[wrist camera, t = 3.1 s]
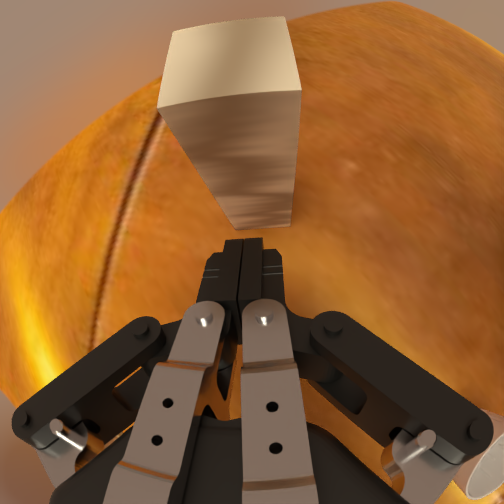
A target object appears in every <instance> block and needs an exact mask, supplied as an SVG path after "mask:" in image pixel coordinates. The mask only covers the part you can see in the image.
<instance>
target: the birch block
mask: <svg viewBox="0 0 504 504" xmlns="http://www.w3.org/2000/svg"><path fill="white" fill-rule="evenodd" d="M301 92H302V89H301V85H300V80H299V75H298V70H297V66H296V61H295V57H294V52H293V48H292V44H291V40H290V36H289V32H288V28H287V24H286V20H285V17H263V18H251V19H242V20H233V21H226V22H219V23H213V24H207V25H202V26H197V27H192V28H187V29H182V30H178V31H174V32H173V35H172V39H171V43H170V47H169V51H168V55H167V59H166V64H165V68H164V73H163V78H162V83H161V88H160V93H159V98H158V104H157V109H158V111H159V112H160V114H161V116H162V117H163V119H164V120H165V122H166V123H167V125H168V126H169V128H170V129H171V131H172V133H173V134H174V136H175V137H176V139H177V140H178V142H179V143H180V145H181V147H182V148H183V150H184V151H185V153H186V154H187V156H188V157H189V159H190V160H191V162H192V164H193V165H194V167H195V168H196V170H197V171H198V173H199V174H200V176H201V178H202V179H203V181H204V182H205V184H206V185H207V187H208V188H209V190H210V191H211V193H212V195H213V196H214V198H215V199H216V201H217V202H218V204H219V205H220V207H221V208H222V210H223V212H224V213H225V215H226V216H227V218H228V219H229V221H230V222H231V224H232V225H233V227H234V229H235V230H244V229H259V228H274V227H290V223H291V214H292V204H293V194H294V183H295V172H296V161H297V149H298V136H299V122H300V108H301Z"/></svg>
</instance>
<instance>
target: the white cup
mask: <svg viewBox="0 0 504 504" xmlns="http://www.w3.org/2000/svg"><path fill="white" fill-rule="evenodd" d="M479 409H481V410H482V411H484V412H485V413H486V414H487V415H488V416H489V417H490V419H491V420H492V423H493V427H494V434H493V439H492V442H491V443H490V445H489V447H488V448H487V449H486V450H485V451H484V452H482V453H481V454H479V455H477V456H476V457H474V458H472V459H470V460H469V461H467V462H465V463H464V464H463V465H462V466H461V467H460V469H459V470H458V472H457V473H456V475H455V476H454V478H453V479H452V480H453V481H454V482H455V483H456V484H457V486H458V487H459V488H460V489H461V490H462V491H463V493H464V494H465V495H466V496H467V497H468V498H469V499H471V500H477V499H480V498H483V497H485V496H487V495H489V494H490V493H492V492H493V491H495V490H496V489H497V488H498V487H500V486H501V485H502V484H503V483H504V416H501V415H498V414H496V413H493V412H490V411H487V410H484V409H482V408H479Z"/></svg>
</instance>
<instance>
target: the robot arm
mask: <svg viewBox="0 0 504 504" xmlns="http://www.w3.org/2000/svg"><path fill="white" fill-rule="evenodd" d="M240 344H243V367H241V417H242V418H238V419H233V420H230V413H229V404H230V398H231V392H232V387H233V381H234V376H235V370H236V364H237V359H236V353H237V345H240ZM140 366H141V367H142V368H141V369H140V370H138V371H137V372H136V373H134V374H133V375H132V376H131V377H129V378H128V379H127V380H126V381H124V382H123V383H122V384H121V385H119V386H118V387H115V386H116V385H117V384H118V383H120V382H121V381H122V380H124V379H125V378H126V377H127V376H129V375H130V374H131V373H132V372H134V371H135V370H136V369H137V368H139V367H140ZM299 378H304V379H307V380H308V382H309V384H310V385H311V386H312V387H314V388H315V389H316V390H317V391H318V392H319V393H320V394H321V395H323V396H324V397H325V398H326V399H327V400H328V401H329V402H330V403H332V404H333V405H334V406H335V407H336V408H337V409H338V410H340V411H341V412H342V413H343V414H344V415H345V416H347V417H348V418H349V419H350V420H351V421H352V422H354V423H355V424H356V425H357V426H358V427H360V428H361V429H362V430H363V431H364V432H366V433H367V434H368V435H369V436H370V437H372V438H373V439H374V440H375V441H377V442H378V443H379V444H380V445H382V446H383V447H384V450H383V452H382V455H381V464H382V467H383V469H384V471H385V472H386V473H387V474H388V475H389V477H390V478H391V481H392V488H391V487H390V486H389V485H387V484H386V483H385V482H384V481H383V480H382V479H380V478H379V477H378V476H377V475H376V474H375V473H374V472H372V471H371V470H370V469H369V468H368V467H367V466H366V465H365V464H364V463H362V462H361V461H360V460H359V459H358V458H357V457H356V456H355V455H354V454H353V453H352V452H350V451H349V450H348V449H347V448H346V447H345V446H344V445H343V444H342V443H341V442H340V441H339V440H338V439H337V438H336V437H335V436H333V435H332V434H331V433H329V432H328V431H327V430H325V429H323V428H321V427H319V426H317V425H314V424H312V423H308V422H306V419H305V412H304V406H303V399H302V393H301V386H300V380H299ZM114 387H115V388H114ZM133 422H135V423H134V425H133V426H132V427H130V428H129V429H128V430H127V431H126V432H124V433H123V434H122V435H121V436H120V437H118V438H117V439H116V440H115V441H114V442H113V443H111V444H110V445H109V446H108V447H107V448H105V449H104V445H105V444H107V443H108V442H109V441H111V440H112V439H113V438H114V437H116V436H117V435H118V434H120V433H121V432H122V431H123V430H125V429H126V428H127V427H128V426H130V425H131V424H132V423H133ZM12 429H13V432H14V433H15V435H16V436H17V437H19V438H20V439H22V440H23V441H25V442H26V443H28V444H30V445H31V446H32V447H33V448H34V449H35V450H36V451H37V454H38V456H39V458H40V460H41V462H42V464H43V466H44V468H45V470H46V472H47V474H48V476H49V478H50V480H51V482H52V484H53V485H54V487H55V490H54V492H53V493H52V495H51V498H50V502H49V504H434V503H435V502H436V500H437V499H438V498H439V497H440V495H441V494H442V493H443V491H444V490H445V489H446V487H447V486H448V485H449V483H450V482H451V481H452V479H453V478H454V476H455V475H456V473H457V472H458V470H459V469H460V467H461V466H462V465H463V464H464V463H465V462H467V461H469V460H470V459H472V458H474V457H476V456H477V455H479V454H481V453H482V452H484V451H485V450H486V449H487V448H488V447H489V445H490V443H491V442H492V439H493V434H494V427H493V423H492V420H491V419H490V417H489V416H488V415H487V414H486V413H485V412H484V411H482V410H481V409H479V408H478V407H477V406H475V405H474V404H472V403H471V402H469V401H468V400H467V399H465V398H464V397H462V396H461V395H460V394H458V393H457V392H455V391H454V390H453V389H451V388H450V387H448V386H447V385H445V384H444V383H443V382H441V381H440V380H438V379H437V378H436V377H434V376H433V375H431V374H430V373H429V372H427V371H426V370H424V369H423V368H421V367H420V366H419V365H417V364H416V363H414V362H413V361H412V360H410V359H409V358H407V357H406V356H404V355H403V354H402V353H400V352H399V351H397V350H396V349H394V348H393V347H392V346H390V345H389V344H387V343H386V342H385V341H383V340H382V339H380V338H379V337H377V336H376V335H375V334H373V333H372V332H370V331H369V330H367V329H366V328H365V327H363V326H362V325H360V324H359V323H358V322H356V321H355V320H353V319H352V318H350V317H349V316H347V315H346V314H344V313H341V312H337V311H327V312H323V313H321V314H319V315H317V316H316V317H315V318H314V319H309V318H304V317H300V316H298V315H296V314H294V313H292V312H291V311H290V310H289V309H288V308H287V306H286V304H285V295H284V281H283V267H282V256H281V255H280V253H279V252H278V251H277V250H276V249H265V250H264V247H263V238H246V239H232V240H226V241H225V245H224V249H223V252H218V253H213V254H212V255H211V257H210V258H209V259H208V260H207V262H206V266H205V271H204V273H203V278H202V281H201V285H200V289H199V293H198V296H197V300H196V304H194V305H192V306H191V307H189V308H188V309H187V311H186V312H185V314H184V316H183V319H181V320H179V321H175V322H172V323H168V324H164V325H160V323H159V321H158V320H157V319H155V318H153V317H149V316H144V317H139V318H137V319H135V320H133V321H131V322H130V323H129V324H127V325H126V326H125V327H123V328H122V329H121V330H119V331H118V332H117V333H115V334H114V335H112V336H111V337H110V338H108V339H107V340H106V341H104V342H103V343H102V344H100V345H99V346H98V347H96V348H95V349H94V350H92V351H91V352H90V353H88V354H87V355H86V356H84V357H83V358H82V359H80V360H79V361H78V362H76V363H75V364H74V365H72V366H71V367H70V368H68V369H67V370H66V371H64V372H63V373H62V374H61V375H59V376H58V377H57V378H55V379H54V380H53V381H51V382H50V383H49V384H47V385H46V386H45V387H44V388H42V389H41V390H40V391H38V392H37V393H36V394H34V395H33V396H32V397H31V398H29V399H28V400H27V401H25V402H24V403H23V404H22V405H20V406H19V407H18V408H17V409H16V410H15V412H14V414H13V417H12Z"/></svg>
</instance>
